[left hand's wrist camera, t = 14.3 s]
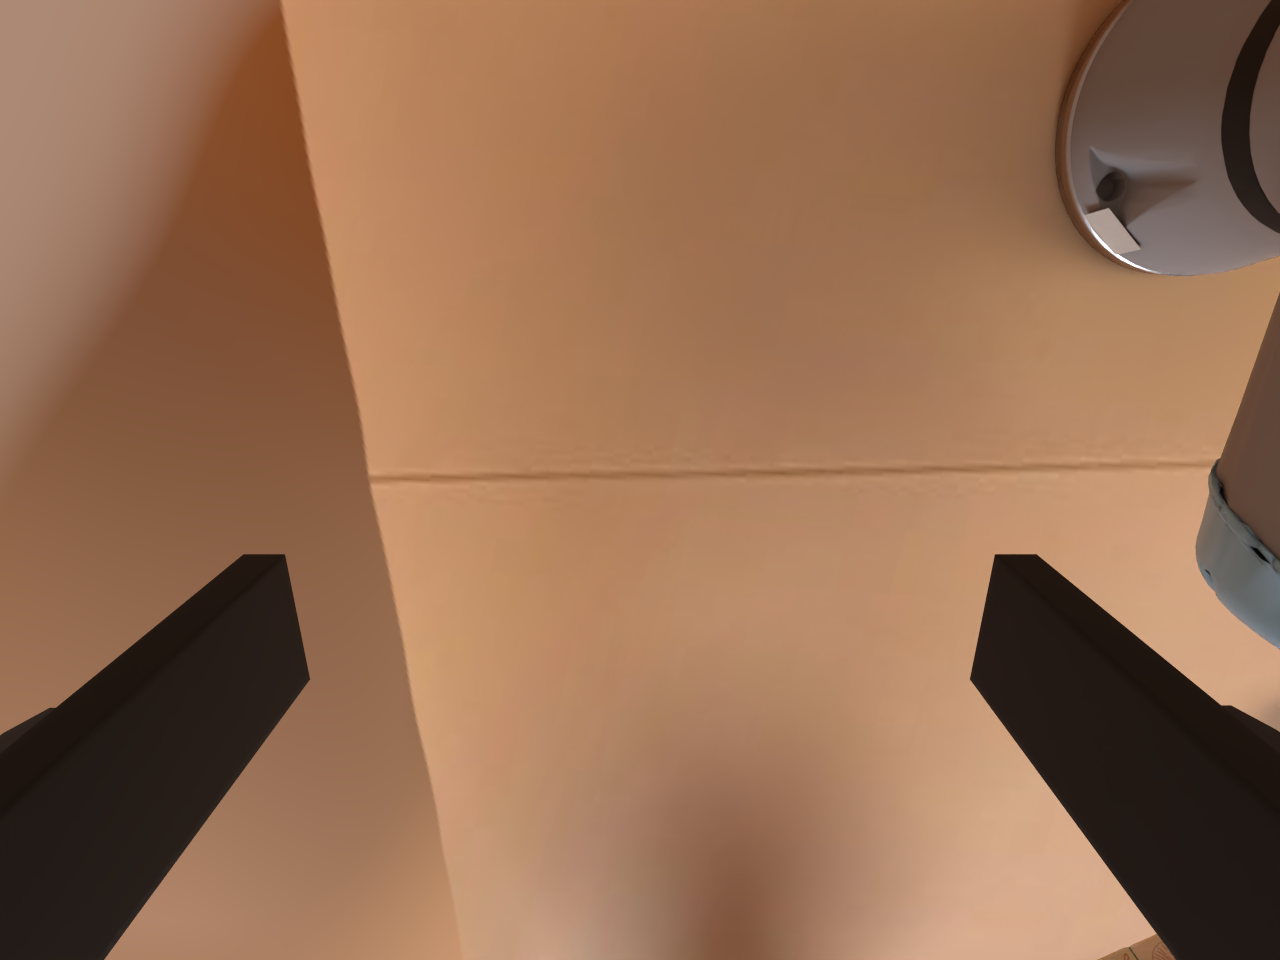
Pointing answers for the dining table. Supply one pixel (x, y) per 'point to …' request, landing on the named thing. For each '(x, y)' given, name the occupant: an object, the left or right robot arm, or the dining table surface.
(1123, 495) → the dining table surface
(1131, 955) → the stack of blocks
